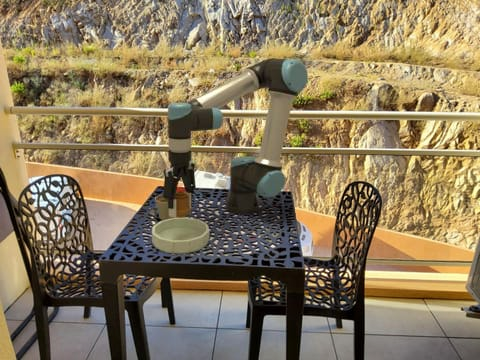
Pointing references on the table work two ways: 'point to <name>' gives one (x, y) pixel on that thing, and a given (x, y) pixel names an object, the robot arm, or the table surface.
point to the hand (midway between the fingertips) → (180, 212)
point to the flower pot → (162, 207)
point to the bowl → (180, 235)
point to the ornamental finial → (182, 204)
